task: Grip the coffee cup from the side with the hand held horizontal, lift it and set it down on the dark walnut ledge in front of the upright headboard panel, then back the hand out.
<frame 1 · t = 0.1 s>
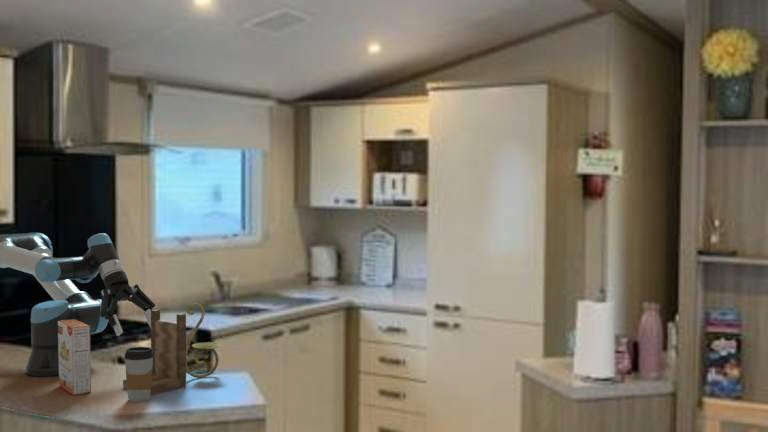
hand: (137, 331, 275), 15 cm above the counter, tool tilted 35°, fingers open, 13 cm apart
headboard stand: (154, 387, 263), on the counter
cracker box: (74, 390, 259), on the counter
wall sconce: (200, 378, 275), on the counter
coffee cup: (139, 400, 248), on the counter
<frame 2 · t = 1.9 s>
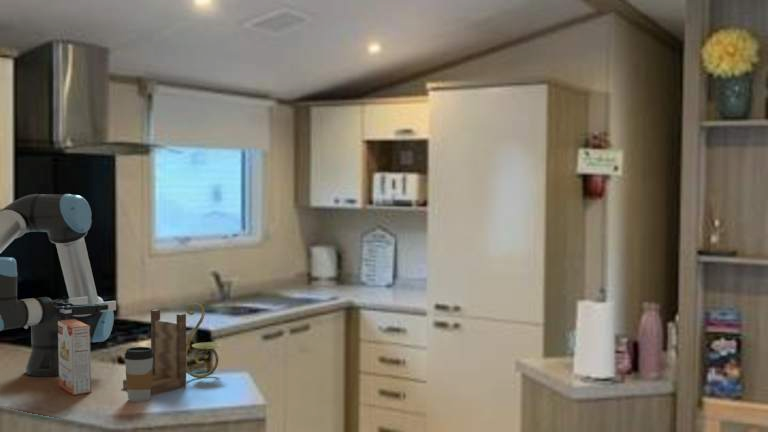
hand: (101, 303, 250), 28 cm above the counter, tool horizontal, fingers open, 13 cm apart
nothing on the counter moved.
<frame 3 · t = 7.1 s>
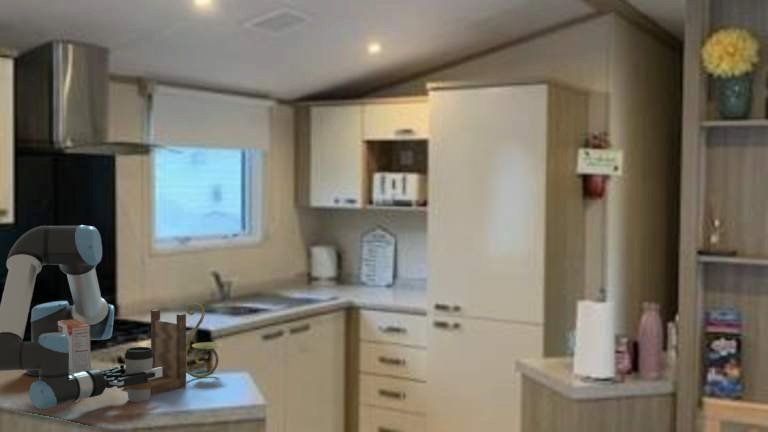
hand: (152, 369, 252), 8 cm above the counter, tool horizontal, fingers closed on coffee cup, 7 cm apart
coffee cup: (139, 400, 248), on the counter, touching gripper
everything else where it was.
when the fingers open (12 cm above the counter, at t = 11.2 s): coffee cup drops 1 cm, resting on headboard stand.
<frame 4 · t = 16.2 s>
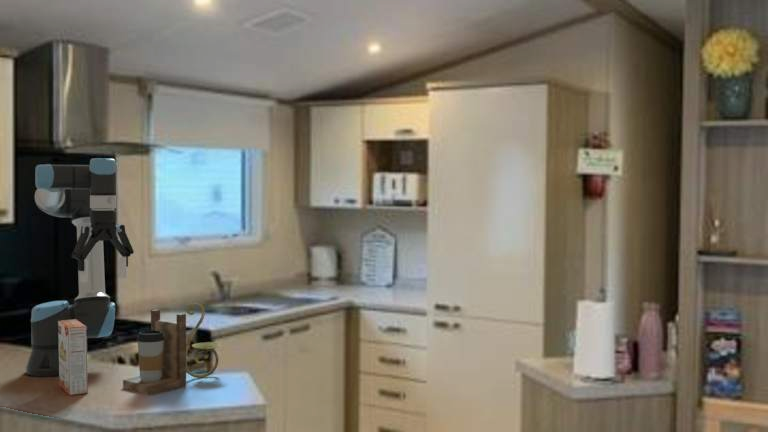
hand: (103, 279, 253), 35 cm above the counter, tool pointing down, fingers open, 13 cm apart
coffee cup: (150, 380, 261), point 2 cm above the counter, touching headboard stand
at the end: coffee cup inside the target area (0.4 cm from its centre), point 2.3 cm above the counter; coffee cup tilted 0°; the gripper is holding nothing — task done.
